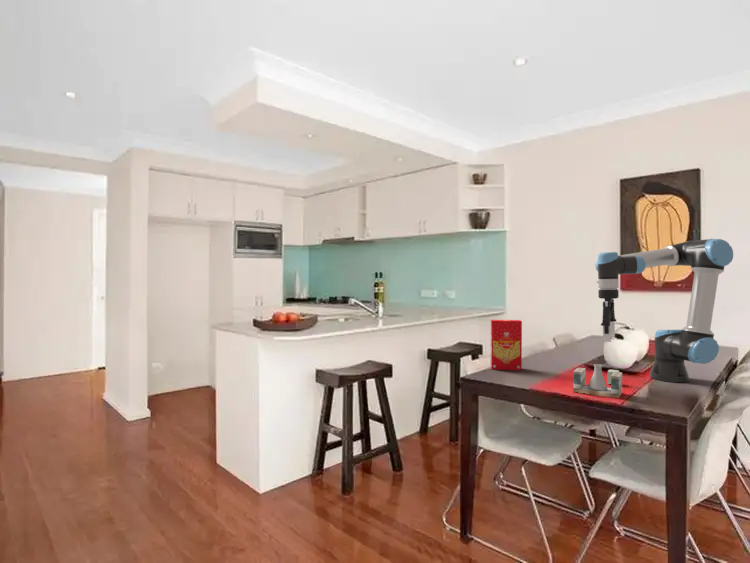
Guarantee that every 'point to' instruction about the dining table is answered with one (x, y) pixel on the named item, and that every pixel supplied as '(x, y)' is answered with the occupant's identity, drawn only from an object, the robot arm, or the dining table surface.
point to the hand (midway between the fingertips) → (609, 339)
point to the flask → (597, 379)
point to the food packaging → (506, 344)
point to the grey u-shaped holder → (611, 392)
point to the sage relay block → (610, 375)
